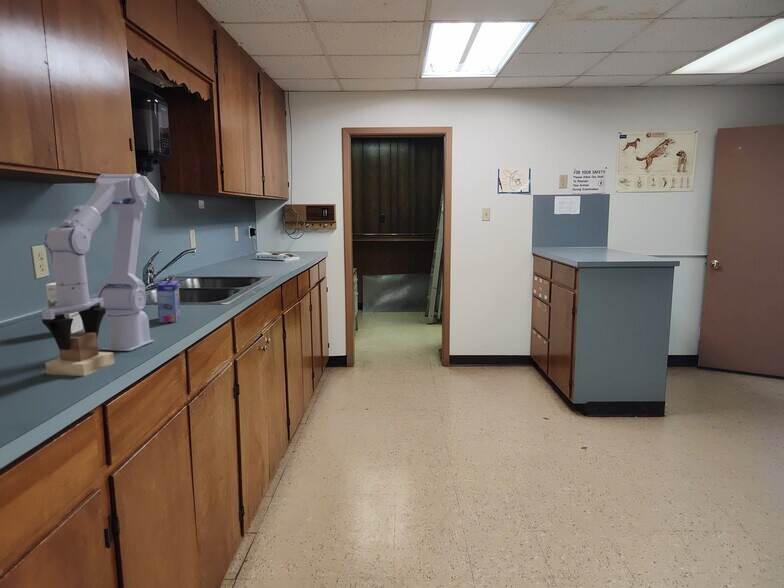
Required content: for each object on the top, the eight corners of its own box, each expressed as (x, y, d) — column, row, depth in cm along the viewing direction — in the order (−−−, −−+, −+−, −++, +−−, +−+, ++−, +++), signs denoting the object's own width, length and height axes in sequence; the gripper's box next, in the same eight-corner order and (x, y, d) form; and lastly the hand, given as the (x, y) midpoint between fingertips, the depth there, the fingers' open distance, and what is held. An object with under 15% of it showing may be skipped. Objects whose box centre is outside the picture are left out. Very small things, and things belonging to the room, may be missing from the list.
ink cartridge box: (177, 322, 150) (174, 277, 148) (158, 323, 149) (154, 277, 146) (181, 316, 160) (178, 273, 157) (163, 317, 158) (159, 273, 156)
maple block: (79, 363, 111) (78, 350, 110) (114, 365, 110) (113, 352, 109) (46, 376, 102) (45, 362, 102) (84, 378, 101) (83, 364, 100)
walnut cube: (79, 353, 108) (76, 332, 107) (98, 354, 107) (96, 332, 107) (60, 360, 103) (57, 337, 103) (81, 361, 103) (78, 338, 102)
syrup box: (83, 329, 141) (78, 281, 139) (71, 334, 136) (65, 283, 133) (64, 329, 141) (58, 281, 139) (50, 334, 135) (44, 284, 133)
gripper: (81, 278, 110) (88, 335, 113) (25, 288, 96) (33, 353, 98) (109, 279, 109) (115, 336, 112) (56, 288, 95) (64, 354, 97)
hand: (78, 344), depth 105 cm, fingers open, 7 cm apart
